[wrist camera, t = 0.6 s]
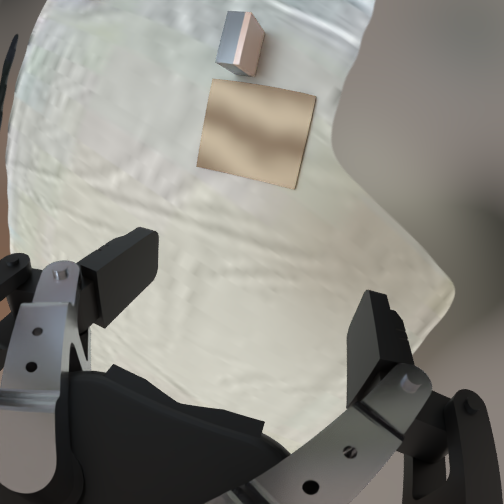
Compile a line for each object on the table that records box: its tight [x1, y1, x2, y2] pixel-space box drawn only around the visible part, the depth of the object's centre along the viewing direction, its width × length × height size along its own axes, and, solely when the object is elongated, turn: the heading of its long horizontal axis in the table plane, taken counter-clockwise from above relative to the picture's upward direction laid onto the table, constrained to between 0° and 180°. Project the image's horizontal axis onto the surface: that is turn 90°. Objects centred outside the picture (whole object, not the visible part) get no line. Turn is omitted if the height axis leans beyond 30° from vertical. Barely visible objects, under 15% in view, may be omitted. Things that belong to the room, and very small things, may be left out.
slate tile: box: [216, 11, 265, 77], centre depth 25 cm, size 6×2×7 cm, turn 168°
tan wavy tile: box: [196, 79, 316, 189], centre depth 31 cm, size 11×12×1 cm
